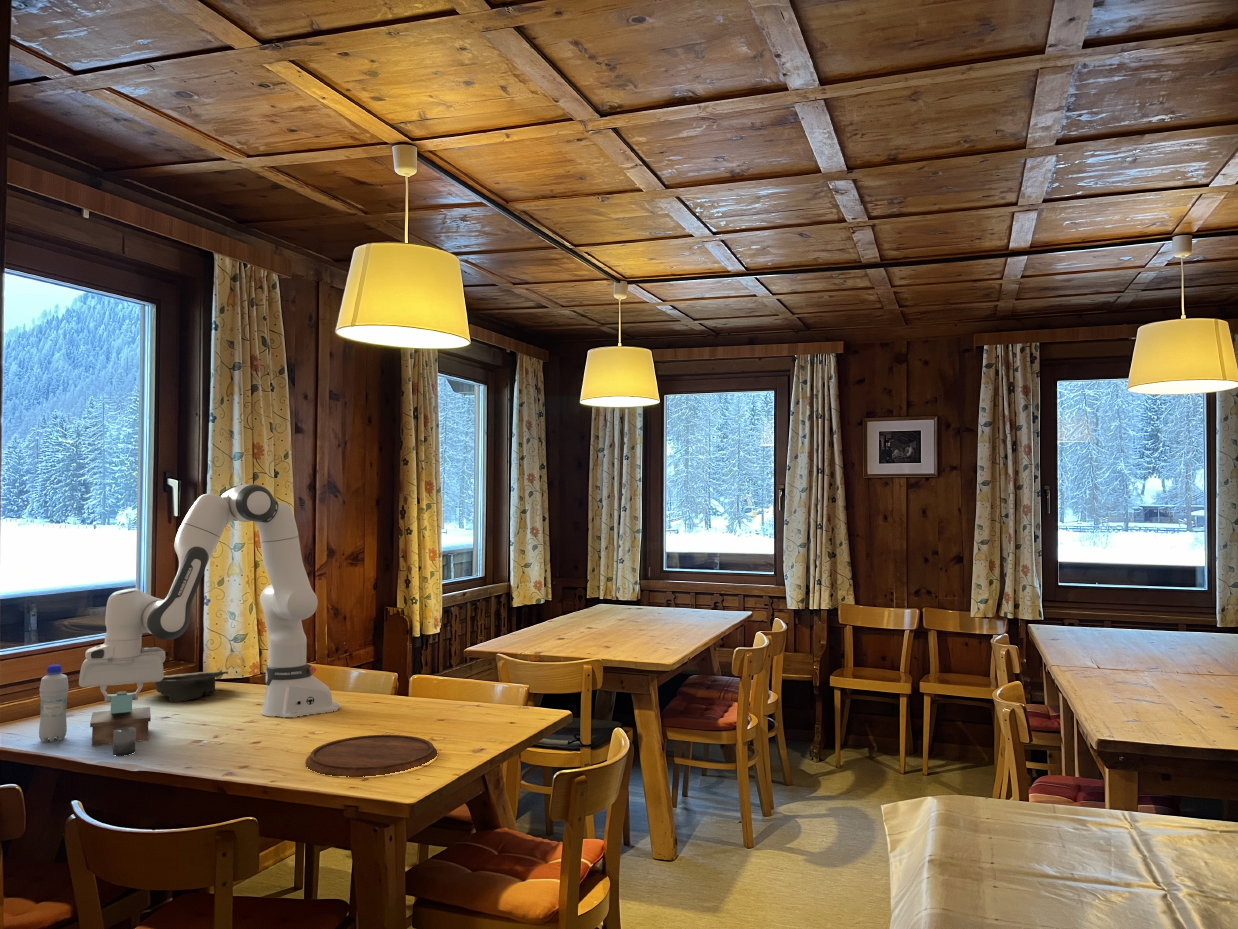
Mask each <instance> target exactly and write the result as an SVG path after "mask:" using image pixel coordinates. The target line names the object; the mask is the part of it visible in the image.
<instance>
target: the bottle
mask: <svg viewBox="0 0 1238 929" xmlns="http://www.w3.org/2000/svg"><path fill="white" fill-rule="evenodd" d="M62 669H63V667H62V665H61V664H51V665H48V666H47V668H46V675H45V676H43V677H41V680H40V685H39V696H40V718H39V728H38V737H39V739H40V741H42V742H43V743H47V742H48V740H49V741H50V743H53V742H54V741H55V738H56V741H57V740H60V741H61V740H64V739H65V738H66V736H67V729H68V727H67V725H68V724H67V701H68V700H67V699H68V694H69V688H70V687H69V680H68V675H66V674H63V673H62V671H63V670H62ZM46 741H47V742H46Z"/></svg>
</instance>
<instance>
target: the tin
mask: <svg viewBox="0 0 1238 929" xmlns="http://www.w3.org/2000/svg"><path fill="white" fill-rule="evenodd" d="M136 742H137V741H136V728H134V727H124V728H118V729H115V730H114V731H113V744H112V756H113V755H116V756H115V757H125V756H124V755H127V756H130V755H129V754H132V753H134V752H135V753H136ZM135 753H134V754H135ZM132 755H133V754H132Z"/></svg>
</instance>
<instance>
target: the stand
mask: <svg viewBox="0 0 1238 929" xmlns="http://www.w3.org/2000/svg"><path fill="white" fill-rule="evenodd" d="M151 715H152V714H151V707H150V706H145V707H134V708H133V707H132V712H123V713H112V714H111V710H103V711H92V713H91V718H90V723H89V728H91V729H92V731H91V736H92V737H91V746H92V747H95V745H97V746H104V745H103V744H106V745H113V731H114V730H115V729H118V728H124V727H134V728H136V741H135V742H140V740H144V741H149V722H151V719H152V718H151V717H152V716H151Z"/></svg>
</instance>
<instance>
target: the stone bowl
mask: <svg viewBox="0 0 1238 929" xmlns="http://www.w3.org/2000/svg"><path fill="white" fill-rule="evenodd" d="M228 673H229V671H205V672H203V671H199V672H192V673H178V674H171V675H164V678H163V679H162V680H161V681H159V682H155V690H156V692H157V693H160V694H161V695H163V696H168V700H169V701H170V702H171V703H179V702H180V703H183V702H185V701H189V700H192V699H199V698H201V697H203V696H207V697H209V696H212V695H214V694H215V691H216V678H217V677H220V676H222V675H225V674H228ZM177 701H179V702H177ZM182 701H183V702H182Z"/></svg>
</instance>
